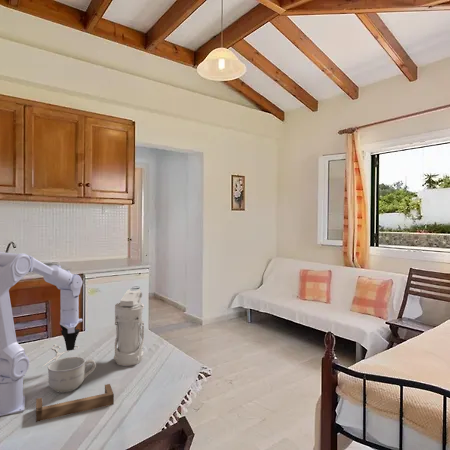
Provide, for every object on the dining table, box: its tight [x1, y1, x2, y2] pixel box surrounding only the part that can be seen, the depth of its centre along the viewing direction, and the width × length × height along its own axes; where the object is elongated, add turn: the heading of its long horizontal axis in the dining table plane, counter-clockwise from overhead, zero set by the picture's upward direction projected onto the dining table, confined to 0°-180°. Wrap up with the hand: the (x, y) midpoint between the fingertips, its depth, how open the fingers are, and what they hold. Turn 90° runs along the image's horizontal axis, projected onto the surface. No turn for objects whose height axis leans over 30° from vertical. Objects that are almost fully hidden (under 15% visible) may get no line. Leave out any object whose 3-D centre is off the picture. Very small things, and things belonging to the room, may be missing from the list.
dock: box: [35, 383, 115, 423], centre depth 102 cm, size 20×7×3 cm, turn 117°
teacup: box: [47, 356, 97, 393], centre depth 112 cm, size 14×11×8 cm
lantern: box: [113, 288, 145, 367], centre depth 133 cm, size 13×10×25 cm
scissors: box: [41, 343, 80, 368], centre depth 135 cm, size 11×1×20 cm
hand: (69, 346), depth 123 cm, fingers open, 5 cm apart
